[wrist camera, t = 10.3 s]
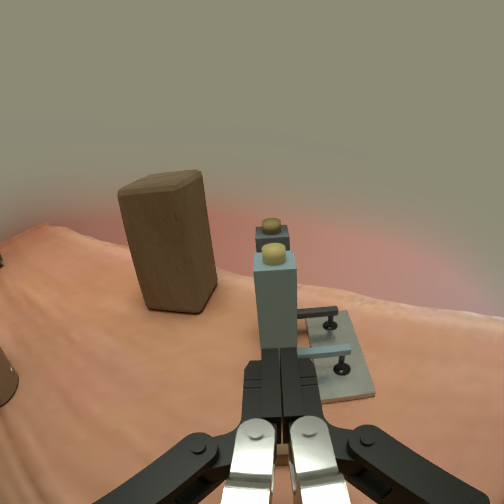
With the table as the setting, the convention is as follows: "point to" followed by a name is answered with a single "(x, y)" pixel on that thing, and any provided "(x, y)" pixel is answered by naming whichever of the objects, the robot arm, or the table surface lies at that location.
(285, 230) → the dark grey l-shaped piece
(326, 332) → the grey flat plate
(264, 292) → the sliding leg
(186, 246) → the block
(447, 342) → the table surface
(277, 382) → the robot arm
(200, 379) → the table surface
